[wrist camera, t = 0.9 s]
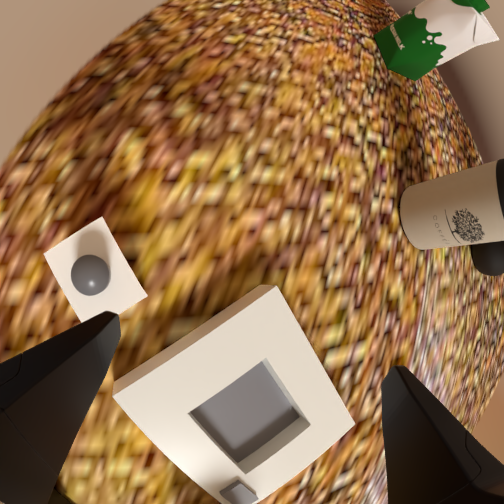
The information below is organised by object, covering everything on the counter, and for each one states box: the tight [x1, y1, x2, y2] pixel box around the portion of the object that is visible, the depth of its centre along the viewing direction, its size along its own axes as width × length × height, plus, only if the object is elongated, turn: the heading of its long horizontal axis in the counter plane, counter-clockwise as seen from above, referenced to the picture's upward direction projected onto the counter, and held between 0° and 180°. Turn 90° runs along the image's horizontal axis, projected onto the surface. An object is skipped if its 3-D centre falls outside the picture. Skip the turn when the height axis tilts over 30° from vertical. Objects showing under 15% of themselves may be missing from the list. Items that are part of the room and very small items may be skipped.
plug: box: [44, 217, 147, 322], centre depth 17 cm, size 4×5×8 cm
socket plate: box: [112, 285, 355, 504], centre depth 21 cm, size 14×16×4 cm
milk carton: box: [374, 0, 499, 81], centre depth 27 cm, size 9×9×20 cm
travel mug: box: [400, 159, 504, 250], centre depth 25 cm, size 8×8×18 cm
